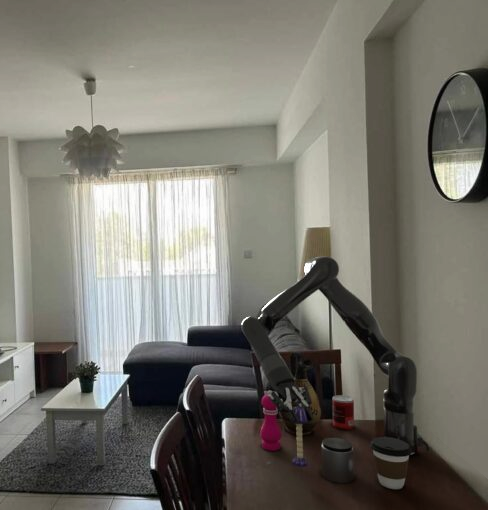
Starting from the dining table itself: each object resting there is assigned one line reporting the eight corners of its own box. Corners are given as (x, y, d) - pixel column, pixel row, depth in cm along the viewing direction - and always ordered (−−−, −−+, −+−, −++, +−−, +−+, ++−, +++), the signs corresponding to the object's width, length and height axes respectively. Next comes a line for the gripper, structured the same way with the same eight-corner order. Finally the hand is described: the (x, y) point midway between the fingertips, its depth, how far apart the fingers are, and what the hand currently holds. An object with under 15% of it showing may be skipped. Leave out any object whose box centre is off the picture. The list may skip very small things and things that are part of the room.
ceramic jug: (330, 435, 173) (328, 355, 173) (293, 440, 169) (291, 358, 169) (304, 420, 189) (302, 346, 189) (269, 424, 185) (268, 349, 185)
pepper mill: (279, 443, 167) (278, 387, 167) (283, 451, 160) (282, 393, 160) (259, 442, 168) (258, 387, 168) (262, 451, 160) (261, 393, 160)
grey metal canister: (348, 469, 146) (347, 437, 146) (357, 483, 137) (357, 449, 137) (318, 468, 147) (318, 437, 147) (326, 482, 138) (325, 448, 138)
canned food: (353, 423, 184) (352, 396, 184) (355, 430, 177) (354, 402, 177) (332, 421, 187) (332, 394, 187) (333, 428, 179) (333, 400, 179)
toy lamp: (289, 460, 141) (288, 405, 141) (304, 459, 141) (303, 404, 141) (296, 467, 136) (294, 410, 136) (311, 466, 136) (310, 410, 136)
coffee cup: (411, 497, 129) (410, 454, 129) (368, 487, 135) (367, 446, 135) (413, 480, 138) (412, 440, 138) (372, 472, 144) (372, 433, 144)
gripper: (263, 367, 142) (290, 419, 131) (300, 362, 148) (329, 411, 137) (253, 380, 147) (279, 432, 136) (289, 375, 153) (316, 423, 142)
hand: (304, 421), depth 137 cm, fingers closed on toy lamp, 4 cm apart
